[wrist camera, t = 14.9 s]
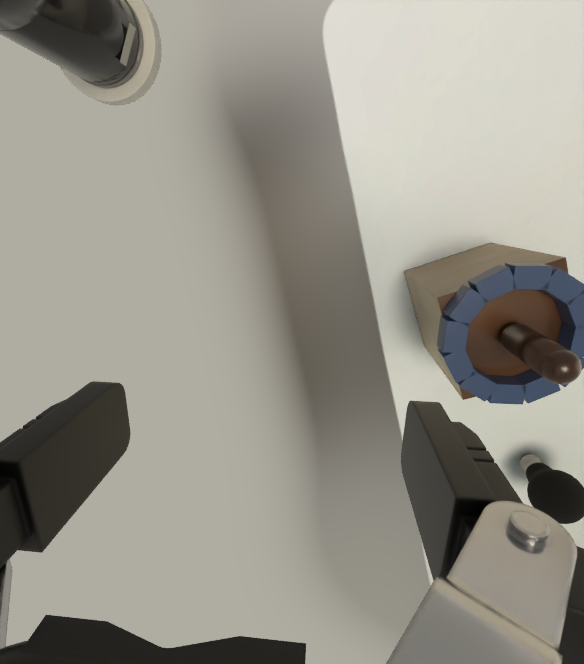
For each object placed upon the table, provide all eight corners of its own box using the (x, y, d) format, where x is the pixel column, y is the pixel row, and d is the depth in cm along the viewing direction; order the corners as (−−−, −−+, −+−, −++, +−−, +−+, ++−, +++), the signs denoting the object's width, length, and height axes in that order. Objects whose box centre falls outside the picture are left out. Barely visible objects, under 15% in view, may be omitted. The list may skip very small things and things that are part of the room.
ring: (415, 305, 31) (420, 311, 29) (556, 235, 28) (571, 236, 27) (468, 413, 34) (476, 424, 32) (602, 358, 31) (618, 367, 29)
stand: (403, 271, 44) (473, 326, 23) (490, 242, 42) (651, 274, 21) (424, 346, 47) (503, 455, 26) (506, 322, 45) (663, 419, 24)
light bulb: (516, 482, 52) (559, 543, 42) (495, 452, 51) (534, 508, 41) (557, 463, 50) (610, 521, 41) (536, 432, 49) (586, 484, 40)
